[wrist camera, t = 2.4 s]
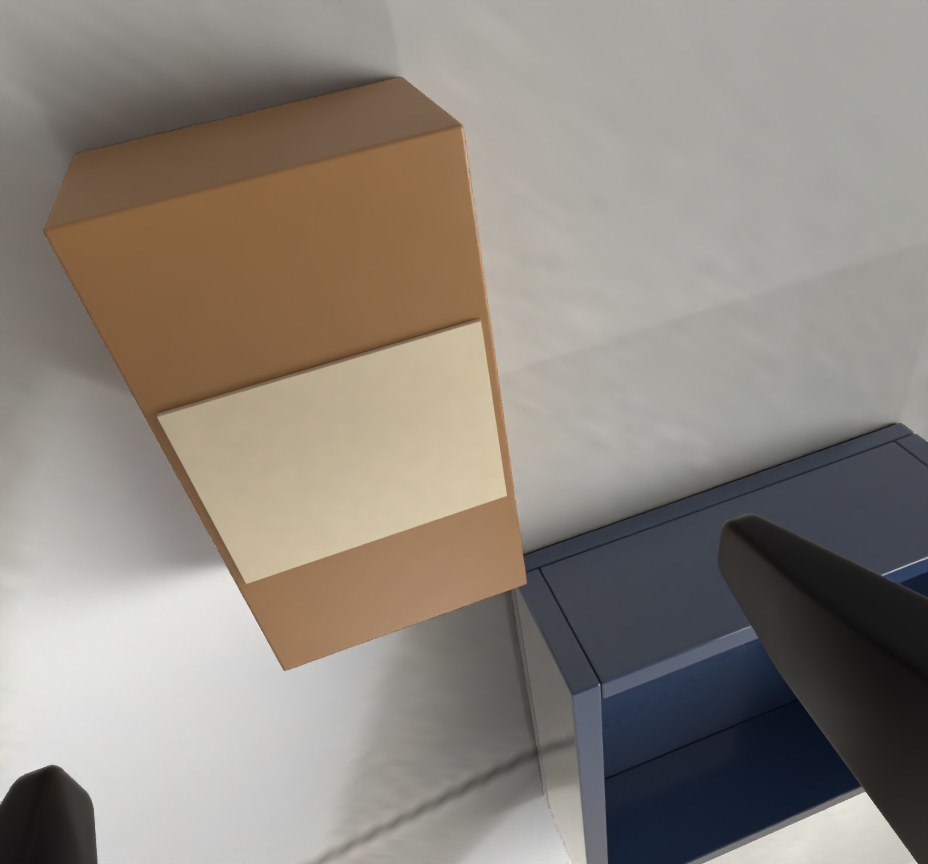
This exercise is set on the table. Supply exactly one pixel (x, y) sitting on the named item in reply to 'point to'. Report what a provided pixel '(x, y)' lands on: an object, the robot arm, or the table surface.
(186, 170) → the packet
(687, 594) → the open box
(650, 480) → the table surface
